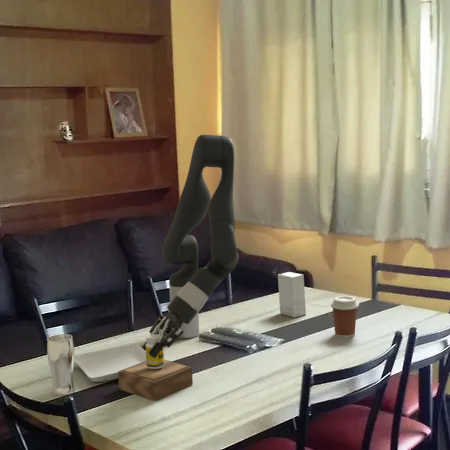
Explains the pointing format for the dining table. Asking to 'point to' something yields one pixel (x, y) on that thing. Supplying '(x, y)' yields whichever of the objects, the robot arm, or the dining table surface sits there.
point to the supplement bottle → (159, 359)
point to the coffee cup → (344, 315)
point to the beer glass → (61, 363)
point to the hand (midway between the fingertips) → (148, 352)
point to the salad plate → (109, 361)
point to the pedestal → (155, 379)
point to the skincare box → (291, 294)
